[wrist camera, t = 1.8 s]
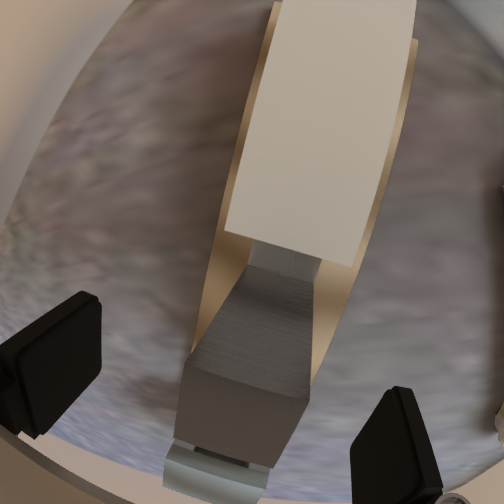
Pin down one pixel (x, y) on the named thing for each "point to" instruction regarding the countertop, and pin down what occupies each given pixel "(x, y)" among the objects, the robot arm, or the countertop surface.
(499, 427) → the electric toothbrush handle
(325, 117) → the sleeve
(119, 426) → the countertop surface
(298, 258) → the grey l-shaped piece
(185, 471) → the stand
